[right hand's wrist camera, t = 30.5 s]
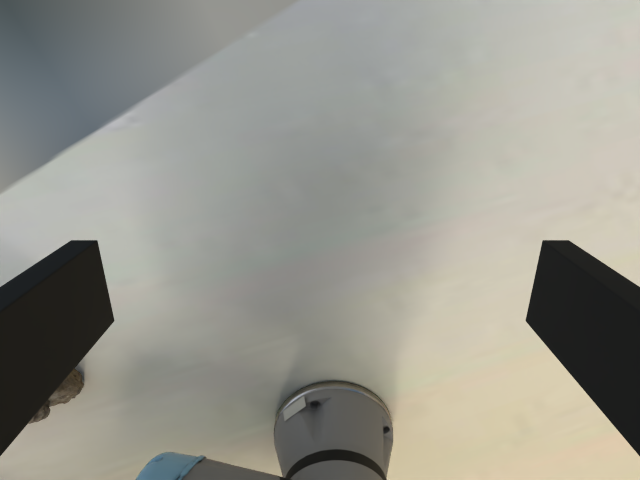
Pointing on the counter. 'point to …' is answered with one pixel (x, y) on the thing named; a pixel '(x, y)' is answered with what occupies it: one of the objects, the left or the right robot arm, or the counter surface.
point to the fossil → (61, 394)
